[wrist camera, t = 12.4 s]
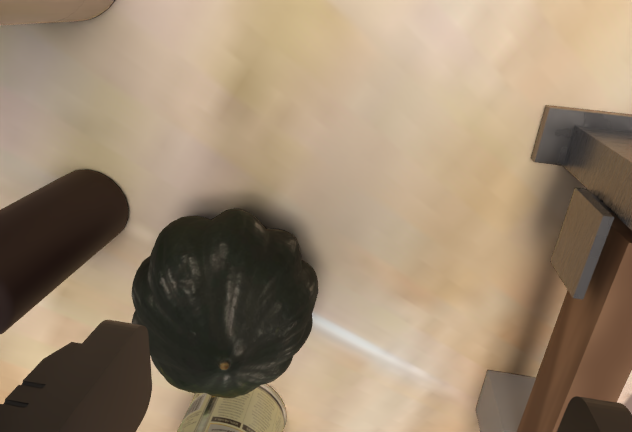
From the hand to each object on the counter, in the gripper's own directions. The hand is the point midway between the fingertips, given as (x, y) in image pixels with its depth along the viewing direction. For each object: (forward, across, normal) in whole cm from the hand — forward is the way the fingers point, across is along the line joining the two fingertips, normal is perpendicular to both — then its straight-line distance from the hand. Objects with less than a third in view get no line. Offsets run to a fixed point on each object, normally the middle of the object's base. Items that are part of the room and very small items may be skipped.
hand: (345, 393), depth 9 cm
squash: (+30, +10, +16) cm, 36 cm away
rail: (+23, -16, +17) cm, 33 cm away
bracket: (+30, -16, +4) cm, 34 cm away
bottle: (+30, +24, +12) cm, 40 cm away
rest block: (+30, -16, +26) cm, 43 cm away
